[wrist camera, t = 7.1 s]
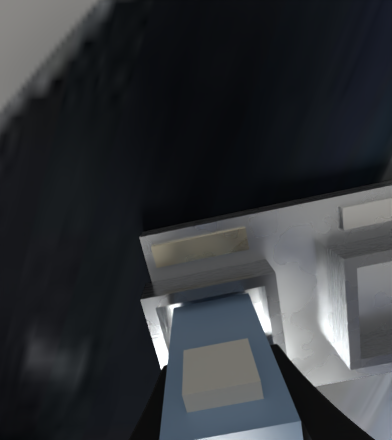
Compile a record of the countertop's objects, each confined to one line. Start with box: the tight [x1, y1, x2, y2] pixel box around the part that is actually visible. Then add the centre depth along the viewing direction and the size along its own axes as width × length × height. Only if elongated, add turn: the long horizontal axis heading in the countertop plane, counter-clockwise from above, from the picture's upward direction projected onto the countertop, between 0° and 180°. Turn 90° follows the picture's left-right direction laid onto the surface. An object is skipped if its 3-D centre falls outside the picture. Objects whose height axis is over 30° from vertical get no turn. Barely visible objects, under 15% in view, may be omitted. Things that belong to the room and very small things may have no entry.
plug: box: [159, 293, 303, 440], centre depth 11 cm, size 4×5×6 cm
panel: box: [139, 180, 392, 386], centre depth 14 cm, size 17×12×3 cm
